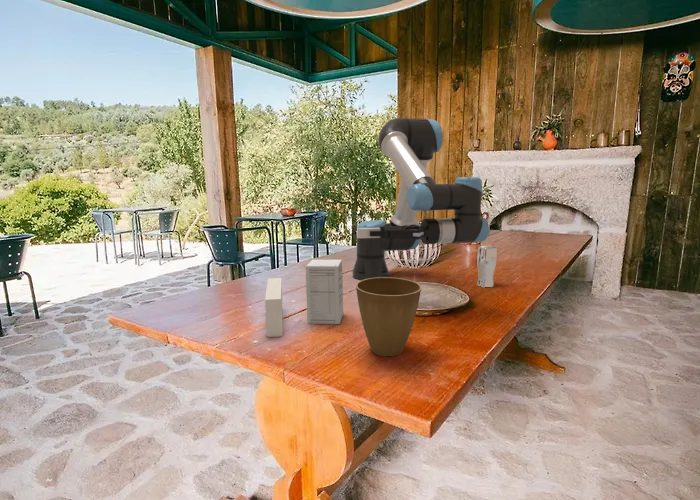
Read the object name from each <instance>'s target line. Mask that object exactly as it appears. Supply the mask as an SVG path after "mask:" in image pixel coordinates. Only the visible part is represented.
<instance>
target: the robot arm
mask: <svg viewBox="0 0 700 500" xmlns="http://www.w3.org/2000/svg"><path fill="white" fill-rule="evenodd" d="M442 129H443V128H442V126H441V124H440V122H438V121H437V120H435V119H430V118H420V117H419V118H417V117H415V118H413V117H412V118H410V117H407V118H406V117H396V118H393V119H390V120H389V121H387V122H386V123H385V124H384V125H383V126H382V127H381V129H380V131H379V133H378V139H377V141H378V146H379V148H380V150H381V153H382V154H383V155H384V156H385V157H386V158H387V157H388V158H389V160H390V161H391V162H392V164H393V166H394V168H395V169H396V171H397V172H398V175H400V178H401V179H400V186H399V191H398V196H397V202H396V208H395V213H394V214H393V215H392V216H391V217H390V220H389V221H390V222H387V223H386V220H383V219H376V220H375V219H374V220H367V221H362V222H360V223H358V225H357V226H356V260H355V263H354V266H353V269H352V277H353V278H354V279H356V280H359V281H361V280H364V279H369V278H377V277H390V276H389V275H390V274H389V268H388V265H387V262H386V259H385V258H386V256H385V254H386V253H385V252H392V251H410V250H414V249H416V248H417V247H418V246H419V244H420V243H422V244H424V245H436V244H437V245H438V244H439V245H440V244H442V245H443V246H447V245H448V244H473V243H482V242H486V240H487V239H488V237H489V234H490V227H489V221H488V220H487V218H485V217H483V216H482V214H481V213H482V212H481V209H482V198H483V196H482V195H483V181H482V178H480V177H477V176H475V177H474V176H471V177H469V176H462V177H456V178H455V183H437V182H436V181H435V180H434V178H433V177H432V176H431V174H430V173H429V172H428V170H427V166H428V163H429V162H430V161H433V158H434V153H437V152H439V151H440V150H441V149H442V146H443V143H444V142H443V141H444V140H443V139H444V136H443V130H442ZM418 211H421V212H427V211H431V212H433V211H454V214H453V215H454V217H452V218H451V217H442V218H441V217H440V218H439V217H438V218H423V219H422V220H421V222H420V223H419V220H418V218H417V214H418Z"/></svg>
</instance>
